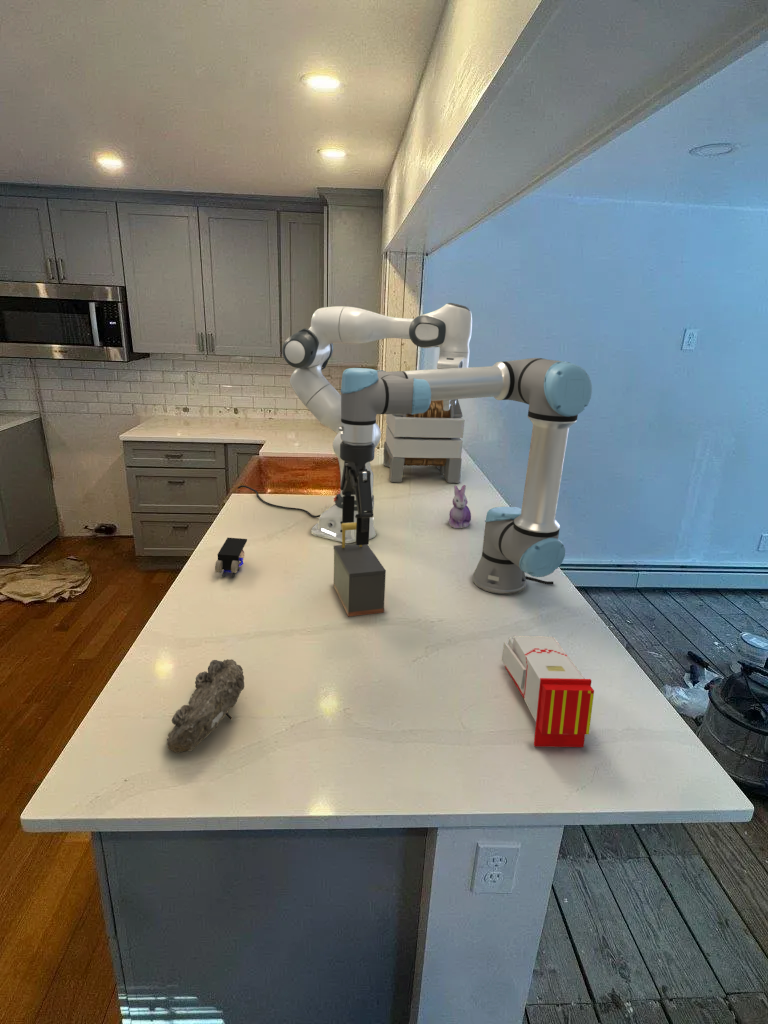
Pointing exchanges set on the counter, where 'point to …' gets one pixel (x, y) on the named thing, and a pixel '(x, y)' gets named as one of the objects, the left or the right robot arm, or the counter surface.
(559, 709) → the toy
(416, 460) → the transformer
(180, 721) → the fossil
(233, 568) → the figurine character
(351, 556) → the lid
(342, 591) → the chest
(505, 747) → the counter surface
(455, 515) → the figurine
